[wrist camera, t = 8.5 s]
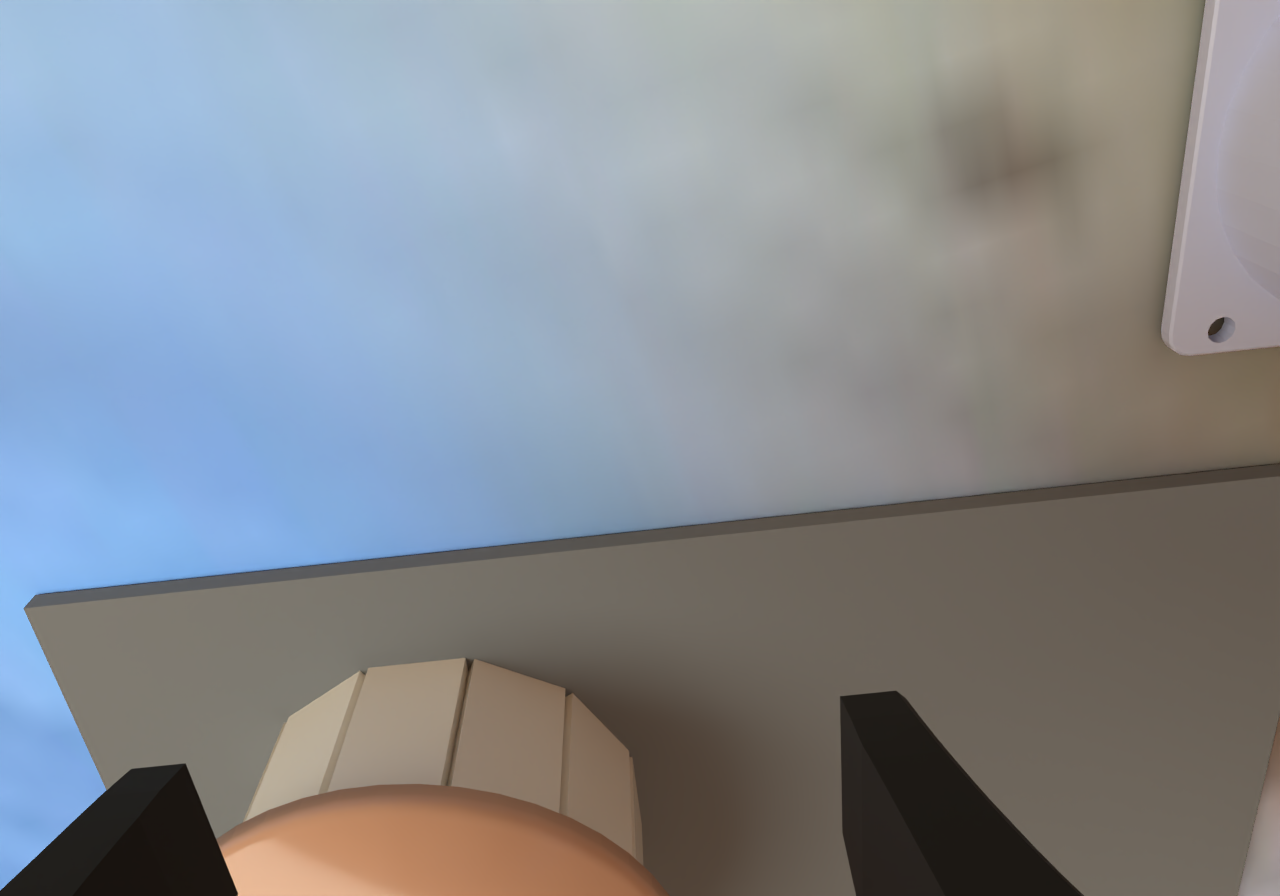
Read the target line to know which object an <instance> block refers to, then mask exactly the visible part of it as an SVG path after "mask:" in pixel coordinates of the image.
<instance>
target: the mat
mask: <svg viewBox="0 0 1280 896" xmlns="http://www.w3.org/2000/svg"><path fill="white" fill-rule="evenodd" d="M24 610H25V612H26V615H27V617H28V619H29V621H30V623H31V626H32V628H33V630H34V632H35V634H36V637H37V639H38V641H39V643H40V645H41V647H42V650H43V652H44V654H45V656H46V658H47V661H48V663H49V665H50V667H51V669H52V672H53V674H54V676H55V678H56V680H57V682H58V685H59V687H60V689H61V691H62V693H63V696H64V698H65V700H66V702H67V704H68V707H69V709H70V711H71V713H72V715H73V717H74V720H75V722H76V724H77V726H78V728H79V731H80V733H81V735H82V737H83V739H84V742H85V744H86V746H87V748H88V750H89V753H90V755H91V757H92V759H93V761H94V763H95V766H96V768H97V770H98V772H99V774H100V777H101V779H102V781H103V783H104V785H105V788H106V790H108V789H109V788H110V787H111V786H112V785H113V784H114V783H116V782H117V781H118V780H119V779H120V778H121V777H122V776H124V775H125V774H126V773H127V772H128V771H129V770H130V769H135V768H144V767H154V766H164V765H174V764H183V763H186V766H187V768H188V771H189V773H190V775H191V778H192V780H193V783H194V785H195V788H196V790H197V793H198V795H199V798H200V800H201V803H202V805H203V808H204V810H205V813H206V815H207V818H208V820H209V823H210V825H211V828H212V830H213V833H214V835H215V837H216V839H217V838H219V837H220V836H222V835H223V834H225V833H226V832H228V831H229V830H231V829H232V828H234V827H235V826H237V825H239V824H241V823H243V820H244V818H245V816H246V813H247V811H248V808H249V806H250V804H251V801H252V799H253V796H254V794H255V792H256V789H257V787H258V784H259V782H260V779H261V777H262V775H263V772H264V770H265V767H266V765H267V763H268V760H269V758H270V755H271V753H272V751H273V748H274V746H275V743H276V741H277V739H278V736H279V734H280V731H281V729H282V726H283V724H284V723H286V722H287V720H288V718H289V717H290V716H291V715H293V714H294V713H296V712H297V711H299V710H300V709H302V708H303V707H305V706H306V705H308V704H310V703H311V702H313V701H314V700H316V699H317V698H319V697H320V696H322V695H323V694H325V693H326V692H328V691H330V690H331V689H333V688H334V687H336V686H337V685H339V684H340V683H342V682H343V681H345V680H346V679H348V678H349V677H351V676H353V675H354V674H356V673H357V672H359V671H361V672H362V673H363V674H364V675H365V676H366V673H367V670H368V668H372V667H381V666H391V665H401V664H410V663H420V662H430V661H439V660H449V659H459V658H466V663H467V667H468V672H469V670H470V667H471V665H472V663H473V661H474V659H477V660H480V661H483V662H486V663H489V664H492V665H495V666H498V667H501V668H504V669H507V670H510V671H513V672H516V673H519V674H523V675H526V676H529V677H532V678H535V679H538V680H541V681H544V682H547V683H550V684H553V685H556V686H559V687H562V688H565V697H567V696H568V695H570V694H572V693H573V694H574V695H575V696H576V697H577V698H578V699H579V700H580V701H581V702H582V703H583V704H584V705H585V706H586V707H587V708H588V709H589V710H590V711H591V712H592V713H593V714H594V715H595V716H596V717H597V718H598V719H599V720H600V721H601V722H602V724H603V725H604V726H605V727H606V728H607V729H608V730H609V731H610V732H611V733H612V734H613V735H614V736H615V737H616V738H617V739H618V740H619V741H620V742H621V743H622V744H623V745H624V746H625V747H626V748H627V749H628V750H629V757H632V758H633V765H634V773H635V780H636V787H637V794H638V801H639V808H640V815H641V823H642V843H643V865H644V867H645V868H646V869H647V870H648V871H649V872H650V873H651V874H652V875H653V876H654V877H655V878H656V880H657V881H658V882H659V883H660V885H661V886H662V887H663V888H664V889H665V891H666V892H667V893H668V894H669V896H856V893H855V888H854V884H853V880H852V875H851V870H850V866H849V861H848V856H847V852H846V847H845V842H844V838H843V833H842V782H841V726H840V696H847V695H857V694H867V693H877V692H887V691H897V692H899V693H900V694H901V695H902V696H904V697H905V698H906V699H907V700H908V702H909V703H910V704H911V706H912V707H913V708H914V709H915V711H916V712H917V713H918V715H919V716H920V717H921V718H922V720H923V721H924V722H925V723H926V725H927V726H928V727H929V729H930V730H931V731H932V732H933V733H934V735H935V736H936V737H937V738H938V740H939V741H940V742H941V743H942V744H943V746H944V747H945V748H946V749H947V750H948V752H949V753H950V754H951V755H952V756H953V758H954V759H955V760H956V761H957V762H958V763H959V765H960V766H961V767H962V768H963V769H964V770H965V772H966V773H967V774H968V775H969V776H970V777H971V779H972V780H973V781H974V782H975V783H976V784H977V785H978V786H979V788H980V789H981V790H982V791H983V792H984V793H985V794H986V795H987V796H988V798H989V799H990V800H991V801H992V802H993V803H994V804H995V805H996V806H997V807H998V808H999V810H1000V811H1001V812H1002V813H1003V814H1004V815H1005V816H1006V817H1007V818H1008V819H1009V820H1010V821H1011V822H1012V823H1013V824H1014V825H1015V827H1016V828H1017V829H1018V830H1019V831H1020V832H1021V833H1022V834H1023V835H1024V836H1025V837H1026V838H1027V839H1028V840H1029V841H1030V842H1031V844H1032V845H1033V846H1034V847H1035V848H1036V849H1037V850H1038V851H1039V852H1040V853H1041V854H1042V855H1043V856H1044V857H1045V858H1046V859H1047V860H1048V861H1049V862H1050V863H1051V864H1052V865H1053V866H1054V867H1055V868H1056V869H1057V870H1058V871H1059V872H1060V873H1061V874H1062V875H1063V876H1064V877H1065V878H1066V879H1067V880H1068V881H1069V882H1070V883H1071V884H1072V885H1073V886H1074V887H1076V888H1077V889H1078V890H1079V891H1080V892H1081V893H1082V894H1083V895H1084V896H1237V895H1238V891H1239V887H1240V882H1241V878H1242V874H1243V870H1244V865H1245V861H1246V857H1247V852H1248V848H1249V844H1250V840H1251V835H1252V831H1253V827H1254V822H1255V818H1256V814H1257V810H1258V805H1259V801H1260V797H1261V792H1262V788H1263V784H1264V780H1265V775H1266V771H1267V767H1268V763H1269V758H1270V754H1271V750H1272V745H1273V741H1274V737H1275V733H1276V728H1277V724H1278V720H1279V715H1280V464H1274V465H1264V466H1255V467H1245V468H1236V469H1226V470H1217V471H1207V472H1198V473H1188V474H1179V475H1169V476H1160V477H1150V478H1141V479H1131V480H1122V481H1112V482H1103V483H1093V484H1084V485H1074V486H1065V487H1055V488H1046V489H1036V490H1027V491H1017V492H1008V493H998V494H989V495H979V496H970V497H960V498H951V499H942V500H932V501H923V502H913V503H904V504H894V505H885V506H875V507H866V508H856V509H847V510H837V511H828V512H818V513H809V514H799V515H790V516H780V517H771V518H761V519H752V520H742V521H733V522H723V523H714V524H704V525H695V526H685V527H676V528H666V529H657V530H647V531H638V532H628V533H619V534H609V535H600V536H591V537H581V538H572V539H562V540H553V541H543V542H534V543H524V544H515V545H505V546H496V547H486V548H477V549H467V550H458V551H448V552H439V553H429V554H420V555H410V556H401V557H391V558H382V559H372V560H363V561H353V562H344V563H334V564H325V565H315V566H306V567H296V568H287V569H277V570H268V571H258V572H249V573H239V574H230V575H221V576H211V577H202V578H192V579H183V580H173V581H164V582H154V583H145V584H135V585H126V586H116V587H107V588H97V589H88V590H78V591H69V592H59V593H50V594H40V595H35V596H34V597H33V598H32V599H31V601H30V602H29V603H28V604H27V605H26V606H25V607H24Z"/></svg>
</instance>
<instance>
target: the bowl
mask: <svg viewBox="0 0 1280 896" xmlns="http://www.w3.org/2000/svg"><path fill="white" fill-rule="evenodd" d="M392 784H428V785H441V786H454V787H463V788H469V789H475V790H480V791H486V792H492V793H498V794H502V795H505V796H509V797H512V798H516V799H520V800H523V801H527V802H530V803H534V804H537V805H540V806H542V807H545V808H547V809H550V810H552V811H555V812H557V813H560V814H563V815H565V816H568V817H570V818H572V819H574V820H576V821H578V822H580V823H582V824H583V825H585V826H587V827H589V828H591V829H593V830H595V831H597V832H599V833H601V834H602V835H604V836H605V837H607V838H608V839H609V840H611V841H612V842H614V843H615V844H617V845H618V846H620V847H621V848H622V849H624V850H625V851H627V852H628V853H629V854H631V855H632V856H633V857H634V858H635V859H636V860H637V861H638V862H639V863H640V864H642V865H643V843H642V823H641V815H640V808H639V801H638V794H637V787H636V780H635V773H634V765H633V758H632V757H629V750H628V749H627V748H626V747H625V746H624V745H623V744H622V743H621V742H620V741H619V740H618V739H617V738H616V737H615V736H614V735H613V734H612V733H611V732H610V731H609V730H608V729H607V728H606V727H605V726H604V725H603V724H602V722H601V721H600V720H599V719H598V718H597V717H596V716H595V715H594V714H593V713H592V712H591V711H590V710H589V709H588V708H587V707H586V706H585V705H584V704H583V703H582V702H581V701H580V700H579V699H578V698H577V697H576V696H575V695H574V694H573V693H572V694H570V695H568V696H567V697H565V688H562V687H559V686H556V685H553V684H550V683H547V682H544V681H541V680H538V679H535V678H532V677H529V676H526V675H523V674H519V673H516V672H513V671H510V670H507V669H504V668H501V667H498V666H495V665H492V664H489V663H486V662H483V661H480V660H477V659H474V661H473V663H472V665H471V667H470V670H469V672H468V667H467V663H466V658H459V659H449V660H439V661H430V662H420V663H410V664H401V665H391V666H381V667H372V668H368V670H367V673H366V676H365V675H364V674H363V673H362V672H361V671H359V672H357V673H356V674H354V675H353V676H351V677H349V678H348V679H346V680H345V681H343V682H342V683H340V684H339V685H337V686H336V687H334V688H333V689H331V690H330V691H328V692H326V693H325V694H323V695H322V696H320V697H319V698H317V699H316V700H314V701H313V702H311V703H310V704H308V705H306V706H305V707H303V708H302V709H300V710H299V711H297V712H296V713H294V714H293V715H291V716H290V717H289V718H288V720H287V722H286V723H284V724H283V726H282V729H281V731H280V734H279V736H278V739H277V741H276V743H275V746H274V748H273V751H272V753H271V755H270V758H269V760H268V763H267V765H266V767H265V770H264V772H263V775H262V777H261V779H260V782H259V784H258V787H257V789H256V792H255V794H254V796H253V799H252V801H251V804H250V806H249V808H248V811H247V813H246V816H245V818H244V820H243V822H245V821H247V820H249V819H251V818H253V817H255V816H257V815H259V814H261V813H263V812H265V811H267V810H270V809H273V808H276V807H279V806H281V805H284V804H287V803H290V802H293V801H296V800H299V799H302V798H305V797H310V796H314V795H318V794H323V793H327V792H332V791H336V790H340V789H349V788H357V787H365V786H373V785H392ZM643 866H644V865H643Z"/></svg>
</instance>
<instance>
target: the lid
mask: <svg viewBox="0 0 1280 896" xmlns="http://www.w3.org/2000/svg"><path fill="white" fill-rule="evenodd" d="M216 840H217V842H218V845H219V847H220V850H221V852H222V855H223V857H224V860H225V862H226V865H227V867H228V870H229V872H230V875H231V877H232V880H233V882H234V885H235V887H236V890H237V892H238V896H669V894H668V893H667V892H666V891H665V889H664V888H663V887H662V886H661V885H660V883H659V882H658V881H657V880H656V878H655V877H654V876H653V875H652V874H651V873H650V872H649V871H648V870H647V869H646V868H645V867H644V866H643V865H642V864H640V863H639V862H638V861H637V860H636V859H635V858H634V857H633V856H632V855H631V854H629V853H628V852H627V851H625V850H624V849H622V848H621V847H620V846H618V845H617V844H615V843H614V842H612V841H611V840H609V839H608V838H607V837H605V836H604V835H602V834H601V833H599V832H597V831H595V830H593V829H591V828H589V827H587V826H585V825H583V824H582V823H580V822H578V821H576V820H574V819H572V818H570V817H568V816H565V815H563V814H560V813H557V812H555V811H552V810H550V809H547V808H545V807H542V806H540V805H537V804H534V803H530V802H527V801H523V800H520V799H516V798H512V797H509V796H505V795H502V794H498V793H492V792H486V791H480V790H475V789H469V788H463V787H454V786H441V785H428V784H392V785H373V786H365V787H357V788H349V789H340V790H336V791H332V792H327V793H323V794H318V795H314V796H310V797H305V798H302V799H299V800H296V801H293V802H290V803H287V804H284V805H281V806H279V807H276V808H273V809H270V810H267V811H265V812H263V813H261V814H259V815H257V816H255V817H253V818H251V819H249V820H247V821H245V822H243V823H241V824H239V825H237V826H235V827H234V828H232V829H231V830H229V831H228V832H226V833H225V834H223V835H222V836H220V837H219V838H217V839H216Z"/></svg>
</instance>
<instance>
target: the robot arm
mask: <svg viewBox="0 0 1280 896" xmlns="http://www.w3.org/2000/svg"><path fill="white" fill-rule="evenodd" d="M1222 317H1224V323H1223V326H1222V328H1221V329H1220V330H1219V331H1218V332H1217V333H1216V334H1213V335H1210V336H1208V330H1209V327H1210V325H1211V324H1212V323H1213V322H1214V321H1215V320H1216V319H1219V318H1222ZM1161 335H1162V340H1163V341H1164V343H1165V345H1166V346H1168V347H1169V348H1170V349H1172V350H1173V351H1175V352H1177V353H1178V354H1180V355H1186V356H1195V355H1204V354H1213V353H1223V352H1232V351H1241V350H1251V349H1260V348H1269V347H1279V346H1280V0H1206V2H1205V9H1204V17H1203V24H1202V31H1201V39H1200V46H1199V54H1198V61H1197V68H1196V76H1195V83H1194V90H1193V98H1192V105H1191V112H1190V120H1189V127H1188V135H1187V142H1186V149H1185V157H1184V164H1183V171H1182V179H1181V186H1180V194H1179V201H1178V208H1177V216H1176V223H1175V230H1174V238H1173V245H1172V252H1171V260H1170V267H1169V275H1168V282H1167V289H1166V297H1165V304H1164V311H1163V319H1162V326H1161ZM840 726H841V782H842V833H843V838H844V842H845V847H846V852H847V856H848V861H849V866H850V870H851V875H852V880H853V884H854V888H855V893H856V896H1084V895H1083V894H1082V893H1081V892H1080V891H1079V890H1078V889H1077V888H1076V887H1074V886H1073V885H1072V884H1071V883H1070V882H1069V881H1068V880H1067V879H1066V878H1065V877H1064V876H1063V875H1062V874H1061V873H1060V872H1059V871H1058V870H1057V869H1056V868H1055V867H1054V866H1053V865H1052V864H1051V863H1050V862H1049V861H1048V860H1047V859H1046V858H1045V857H1044V856H1043V855H1042V854H1041V853H1040V852H1039V851H1038V850H1037V849H1036V848H1035V847H1034V846H1033V845H1032V844H1031V842H1030V841H1029V840H1028V839H1027V838H1026V837H1025V836H1024V835H1023V834H1022V833H1021V832H1020V831H1019V830H1018V829H1017V828H1016V827H1015V825H1014V824H1013V823H1012V822H1011V821H1010V820H1009V819H1008V818H1007V817H1006V816H1005V815H1004V814H1003V813H1002V812H1001V811H1000V810H999V808H998V807H997V806H996V805H995V804H994V803H993V802H992V801H991V800H990V799H989V798H988V796H987V795H986V794H985V793H984V792H983V791H982V790H981V789H980V788H979V786H978V785H977V784H976V783H975V782H974V781H973V780H972V779H971V777H970V776H969V775H968V774H967V773H966V772H965V770H964V769H963V768H962V767H961V766H960V765H959V763H958V762H957V761H956V760H955V759H954V758H953V756H952V755H951V754H950V753H949V752H948V750H947V749H946V748H945V747H944V746H943V744H942V743H941V742H940V741H939V740H938V738H937V737H936V736H935V735H934V733H933V732H932V731H931V730H930V729H929V727H928V726H927V725H926V723H925V722H924V721H923V720H922V718H921V717H920V716H919V715H918V713H917V712H916V711H915V709H914V708H913V707H912V706H911V704H910V703H909V702H908V700H907V699H906V698H905V697H904V696H902V695H901V694H900V693H899V692H897V691H887V692H877V693H867V694H857V695H847V696H840ZM0 896H238V892H237V890H236V887H235V885H234V882H233V880H232V877H231V875H230V872H229V870H228V867H227V865H226V862H225V860H224V857H223V855H222V852H221V850H220V847H219V845H218V842H217V840H216V837H215V835H214V833H213V830H212V828H211V825H210V823H209V820H208V818H207V815H206V813H205V810H204V808H203V805H202V803H201V800H200V798H199V795H198V793H197V790H196V788H195V785H194V783H193V780H192V778H191V775H190V773H189V771H188V768H187V766H186V763H183V764H174V765H164V766H154V767H144V768H135V769H130V770H129V771H128V772H127V773H126V774H125V775H124V776H122V777H121V778H120V779H119V780H118V781H117V782H116V783H114V784H113V785H112V786H111V787H110V788H109V789H108V790H107V791H105V792H104V793H103V794H102V795H101V796H100V797H99V798H98V799H97V800H96V801H95V802H94V803H93V804H91V805H90V806H89V807H88V808H87V809H86V810H85V811H84V812H83V813H82V814H81V815H80V816H79V817H78V818H77V819H75V820H74V821H73V822H72V823H71V824H70V825H69V826H68V827H67V828H66V829H65V830H64V831H63V832H62V833H61V834H60V835H59V836H58V837H57V838H56V839H54V840H53V841H52V842H51V843H50V844H49V845H48V846H47V847H46V848H45V849H44V850H43V851H42V852H41V853H40V854H39V855H38V856H37V857H36V858H35V859H33V860H32V861H31V862H30V863H29V864H28V865H27V866H26V867H25V868H24V869H23V870H22V871H21V872H20V873H19V874H18V875H16V876H15V877H14V878H13V879H12V880H11V881H10V882H9V883H8V884H7V885H6V886H5V887H4V888H3V889H2V890H1V891H0Z"/></svg>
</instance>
